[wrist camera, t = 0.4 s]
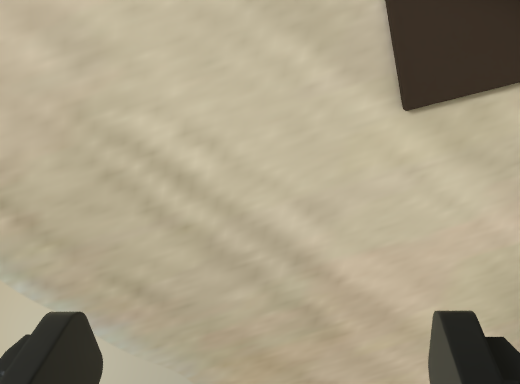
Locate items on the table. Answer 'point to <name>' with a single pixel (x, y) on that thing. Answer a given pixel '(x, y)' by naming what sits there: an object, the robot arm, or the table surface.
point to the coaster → (453, 47)
